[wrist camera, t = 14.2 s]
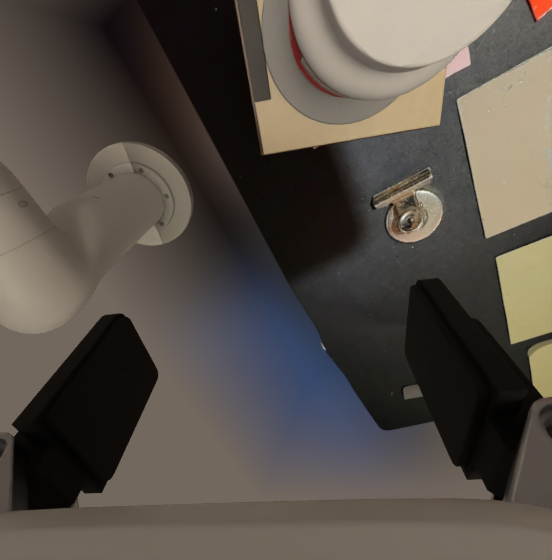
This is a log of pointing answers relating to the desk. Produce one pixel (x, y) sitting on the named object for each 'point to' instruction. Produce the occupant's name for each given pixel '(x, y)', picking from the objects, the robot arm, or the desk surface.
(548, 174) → the desk surface
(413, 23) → the pill bottle
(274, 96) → the scale
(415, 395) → the gray half cylinder
